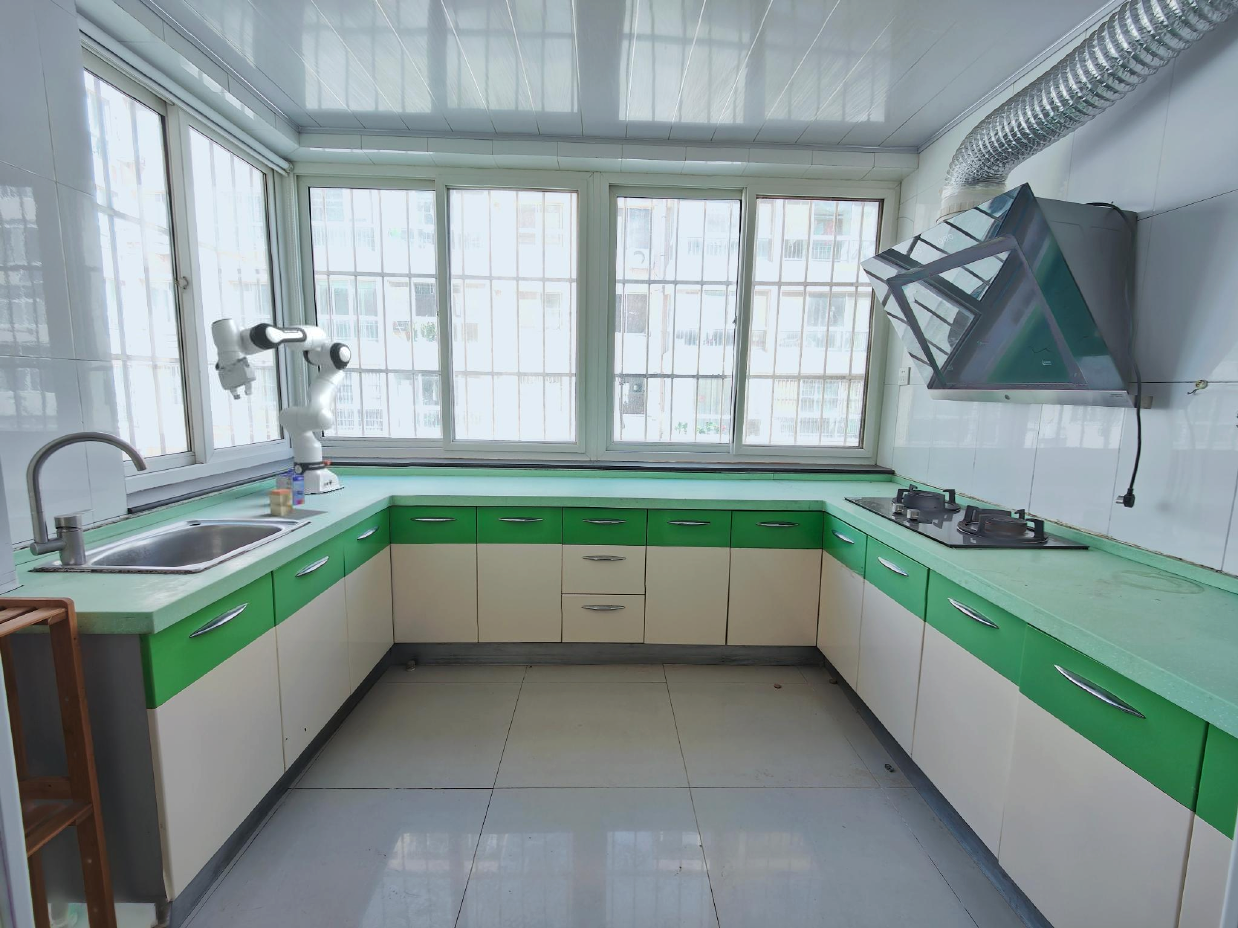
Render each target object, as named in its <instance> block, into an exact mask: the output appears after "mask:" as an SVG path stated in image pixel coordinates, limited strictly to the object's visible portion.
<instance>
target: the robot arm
mask: <svg viewBox="0 0 1238 928" xmlns="http://www.w3.org/2000/svg"><path fill="white" fill-rule="evenodd" d="M210 329H211V335H212V339H213V340H212V341H213V344H214V345H215V348H216V351H217V352H216V355H217V358H218V359H217V361H216V363H215V365H214V368H215V371H216V372H217V375H218V378H219V382H220V385H221V388H222V389H223V390H224V391H229V392H230V394H231V395H232V397H233V400H235V401H236V400H240V399H241V395H240V393H239V392H238V389H239V388H240V387H242V386H244V393H245V394H244V395H246V396H251V395H252V394H253V391H252V387H253V383H252V382H254V381H256V380H257V375H256V370H255V368H254V366H253V364H252V363H251V361H250V360H249V358H248V357H247V356H253V355H256V354H259V353H263V352H265V351H269V350H273V349H276V348H278V347H280V346H281V345H283V344H284V345H285V347H286V348H287V349H288V350H291V351H298V352H302V356H303V359H304V361H305V362H306V363H307V364H309V365H312V366H320V368H319V372H318V373H317V375H316V376H315V377H314V379H313V381H312V382H311V384H310V385H309V388H308V389H307V391H306V393H305V394H306V398H307V399H308V401H309V402H308V404H307V405H305V406H299V405H298V406H295V405H294V406H293V405H292V406H288V407H284V408H282V409H281V410H280V411H279V413H278V417H277V418H278V423H279V425H280V426H281V427H282V428H283V429H285V431H286V433H287V434H288V435H289V438H290V440H291V442H292V443H291V444H292V447H293V457H294V458H293V459H294V462H293V466H292V467H293V469H296V471H295V473H294V475H304V495H312V494H311V493H316V494H324V493H323V492H327V491H331V490H335V489H337V488H341V487H345V485H342V484H341V485H342V486H339V485H340V481H339V478H338V476H337V475H336V473H333V472H332V471H330V470H329V469H328V468H327V466H330V463H331V461H330V460H325V461H324V460H323V450H322V447H323V446H322V444H321V442H320V441H319V440H318V439H317V438H316V437H315V435H314V433H313V432H323V431H324V432H325V431H328V430H330V429H332V427H333V425H334V423H335V417H334V413H332V411H331V406H332V404H333V401H334V399H335V398H336V396H337V394H338V392H339V390H340V388H341V386H342V384H343V381H344V378H345V373H344V371H343V370H344V369H346V368H347V367H348V364H349V363H350V361H351V358H352V351H351V348H349V346H348V345H346V344H345V343H342V342H339V341H338V342H333V341H332V342H331V341H327V334H326V332H325V331H324V330H323V329H322V328H321V327H319V326H316V325H310V324H296V325H295V324H294V325H290V326H287V327H279V326H275V325H273V324H271V323H267V322H261V323H259V324H256V325H254V326H251V327H248V328H246V327H243V326H242V325H240V324H238V323H237V322H236V320H235V319H233V318H222V319H218V320H215V321H214V322H212V323H211V328H210ZM335 491H336V490H335Z"/></svg>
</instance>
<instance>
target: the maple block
mask: <svg viewBox="0 0 1238 928" xmlns="http://www.w3.org/2000/svg"><path fill="white" fill-rule="evenodd" d="M268 494H269V508H270V511H269V512H270V513H271V515H278V516H283V515H287V514H291V513H293V508H294V507H293V505H292V490H290V489H277V490H276V489H273V490H269V491H268Z"/></svg>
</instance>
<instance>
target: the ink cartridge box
mask: <svg viewBox="0 0 1238 928" xmlns="http://www.w3.org/2000/svg"><path fill="white" fill-rule="evenodd" d="M295 471H296V469H294V468H289V469H288V471H287V472H286V473H284V474H283V473H282V474H276V475H275V490H277V489H290V490H292V505H293V506H298V505H303V504H305V503H306V502H305V501H306V499H305V498H306V497H305V494H304V475H295Z"/></svg>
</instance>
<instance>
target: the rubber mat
mask: <svg viewBox="0 0 1238 928" xmlns="http://www.w3.org/2000/svg"><path fill="white" fill-rule="evenodd" d="M325 513H328V511H324V510H314V509H304V508H294V507H293V513H291V514H287V515H283V516H278V515H271V512H270V513H265V514H261V515H259V517H267V518H277V519H285V520H288V519H289V520H296V521H299V520H303V519H308V518H312V517H314V516H315V517H316V516H319V515H322V514H325Z"/></svg>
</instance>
